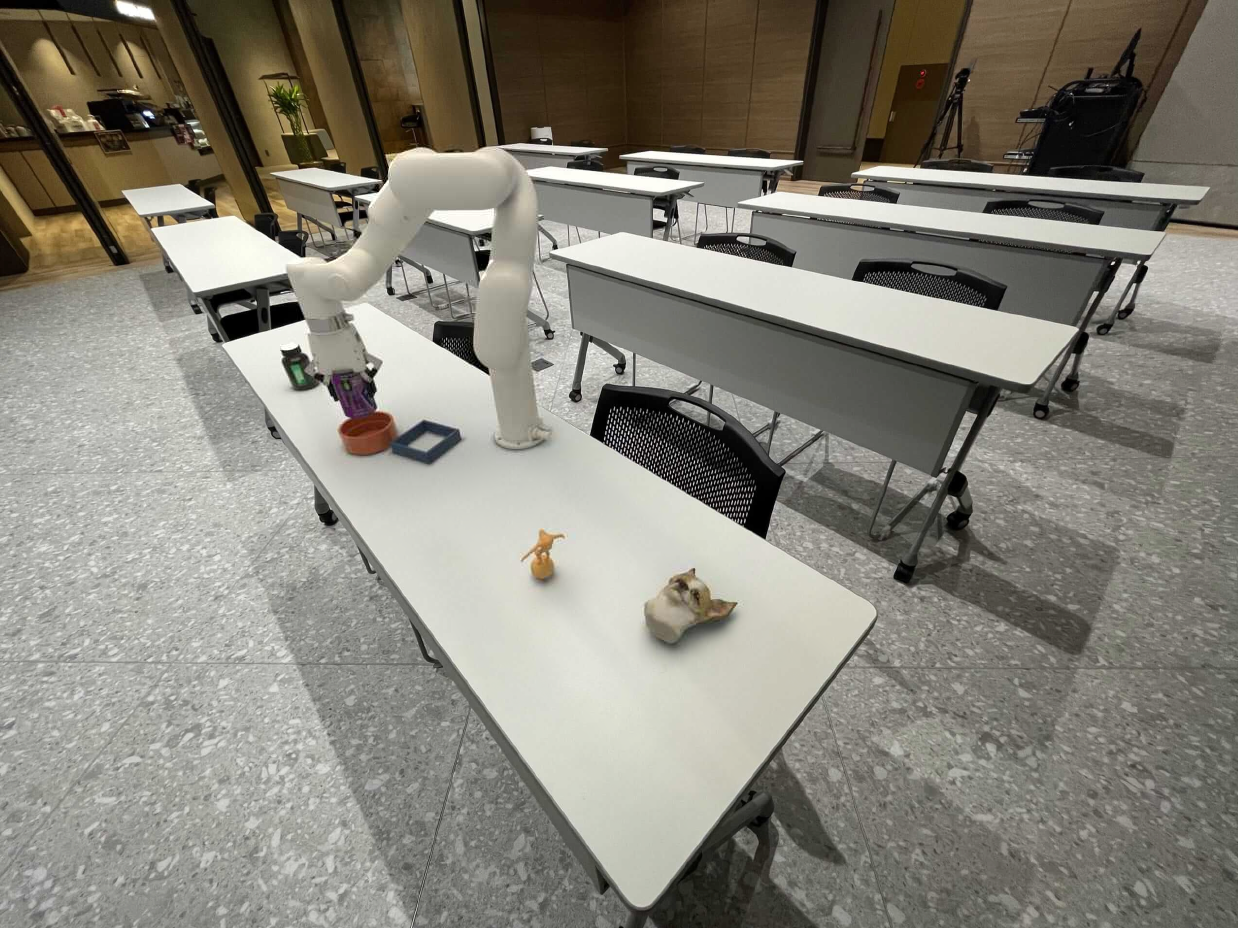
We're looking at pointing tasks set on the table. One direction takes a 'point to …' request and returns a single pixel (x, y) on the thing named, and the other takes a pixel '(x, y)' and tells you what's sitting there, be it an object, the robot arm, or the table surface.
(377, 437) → the bowl
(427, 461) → the blue square frame
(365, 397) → the beverage can
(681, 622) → the ceramic sculpture
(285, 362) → the supplement bottle
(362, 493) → the table surface
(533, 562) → the figurine
